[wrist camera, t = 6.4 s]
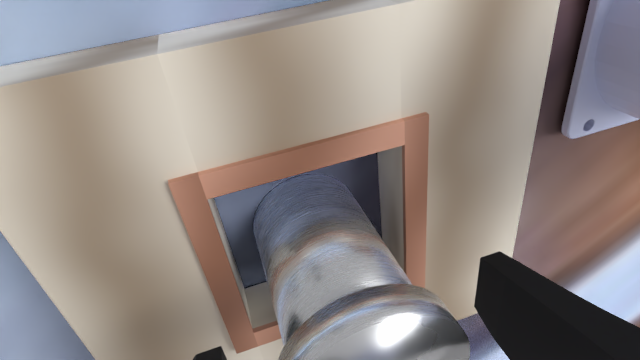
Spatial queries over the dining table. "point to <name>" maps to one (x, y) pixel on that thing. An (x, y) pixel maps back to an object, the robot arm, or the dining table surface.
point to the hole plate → (265, 157)
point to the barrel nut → (344, 282)
